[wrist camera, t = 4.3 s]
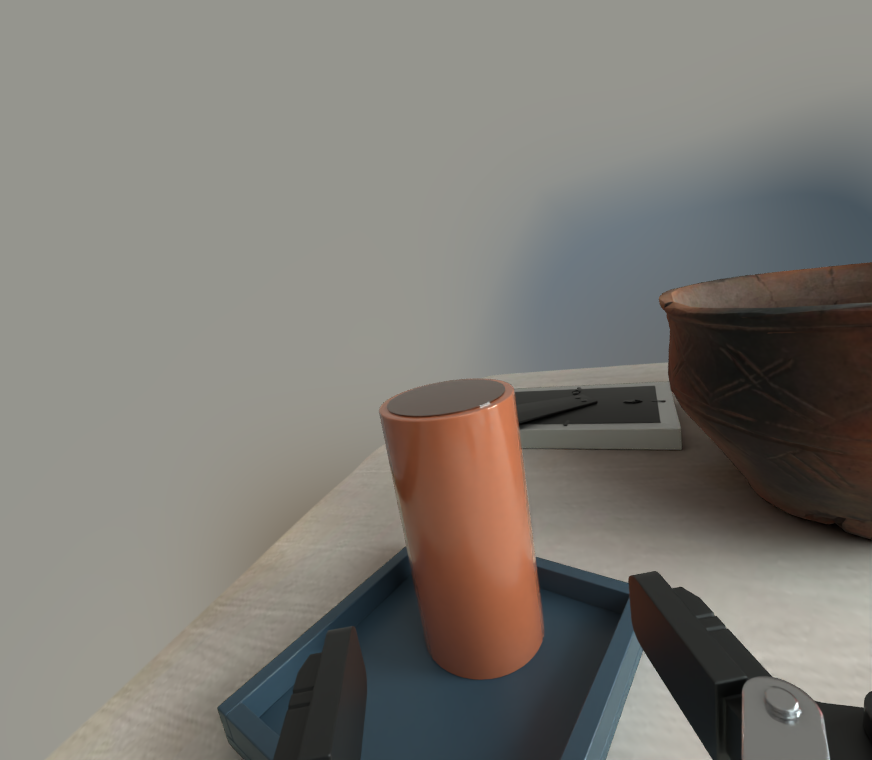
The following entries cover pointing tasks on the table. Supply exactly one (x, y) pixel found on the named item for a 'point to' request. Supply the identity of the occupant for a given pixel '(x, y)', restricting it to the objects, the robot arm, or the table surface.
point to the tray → (460, 697)
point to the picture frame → (599, 417)
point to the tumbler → (466, 523)
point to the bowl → (783, 384)
